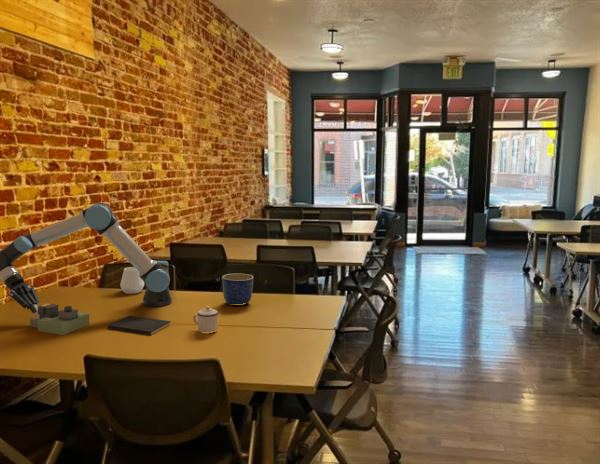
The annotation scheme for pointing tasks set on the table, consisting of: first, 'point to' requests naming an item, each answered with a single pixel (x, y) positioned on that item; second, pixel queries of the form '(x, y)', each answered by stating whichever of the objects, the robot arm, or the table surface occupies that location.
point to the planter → (237, 288)
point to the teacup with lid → (206, 319)
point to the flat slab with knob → (62, 322)
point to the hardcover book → (138, 325)
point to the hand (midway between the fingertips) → (41, 317)
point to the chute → (48, 310)
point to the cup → (131, 281)
